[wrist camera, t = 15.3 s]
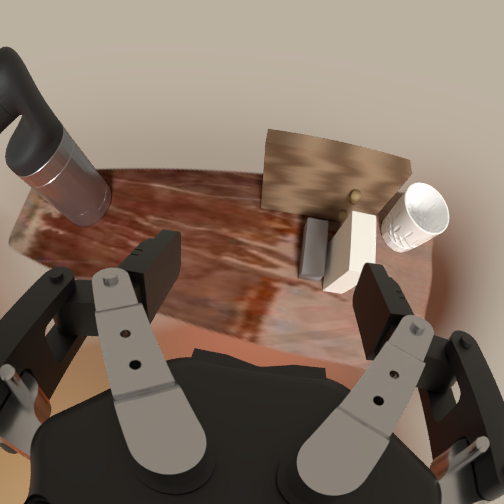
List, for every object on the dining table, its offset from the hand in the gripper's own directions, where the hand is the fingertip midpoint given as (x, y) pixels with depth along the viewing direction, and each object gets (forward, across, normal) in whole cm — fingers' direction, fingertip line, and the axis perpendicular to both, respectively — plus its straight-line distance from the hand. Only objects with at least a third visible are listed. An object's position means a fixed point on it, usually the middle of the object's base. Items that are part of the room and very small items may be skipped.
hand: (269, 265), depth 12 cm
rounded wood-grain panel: (+29, -7, +11) cm, 32 cm away
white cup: (+32, -21, +9) cm, 39 cm away
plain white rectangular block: (+26, -10, +14) cm, 32 cm away
